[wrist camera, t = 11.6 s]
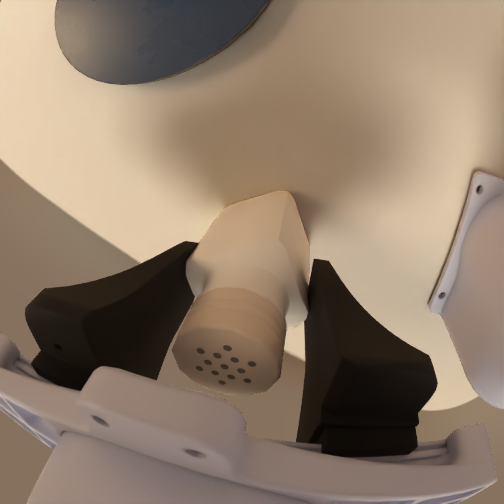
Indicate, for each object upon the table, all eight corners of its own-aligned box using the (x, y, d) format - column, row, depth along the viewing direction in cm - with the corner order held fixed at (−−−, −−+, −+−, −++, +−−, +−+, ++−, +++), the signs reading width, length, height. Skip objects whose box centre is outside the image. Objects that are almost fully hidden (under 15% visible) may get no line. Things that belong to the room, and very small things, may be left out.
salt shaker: (290, 183, 15) (268, 300, 7) (312, 250, 16) (310, 398, 8) (219, 205, 16) (134, 323, 8) (246, 266, 18) (197, 405, 9)
